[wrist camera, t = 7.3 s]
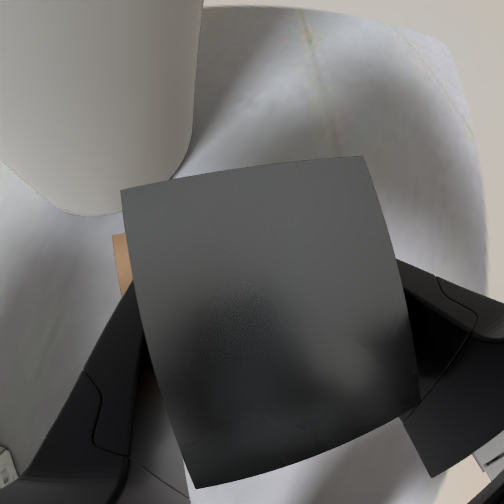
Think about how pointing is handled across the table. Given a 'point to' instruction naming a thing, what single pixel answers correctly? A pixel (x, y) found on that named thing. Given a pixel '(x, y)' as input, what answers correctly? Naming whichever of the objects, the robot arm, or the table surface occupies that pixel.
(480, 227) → the table surface
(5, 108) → the cylinder vase
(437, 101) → the table surface
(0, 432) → the table surface
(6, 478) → the hard drive box
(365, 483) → the table surface
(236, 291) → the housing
